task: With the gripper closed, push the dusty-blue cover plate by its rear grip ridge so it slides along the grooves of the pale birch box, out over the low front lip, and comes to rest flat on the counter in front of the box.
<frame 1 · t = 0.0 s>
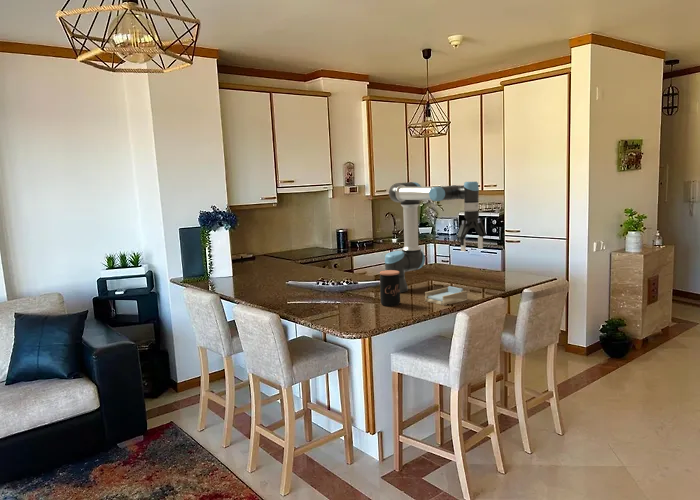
hand: (471, 249, 289), 28 cm above the counter, fingers open, 13 cm apart
cover plate: (446, 296, 295), point 2 cm above the counter, touching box
coffee jar: (390, 304, 292), on the counter
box: (446, 300, 295), on the counter
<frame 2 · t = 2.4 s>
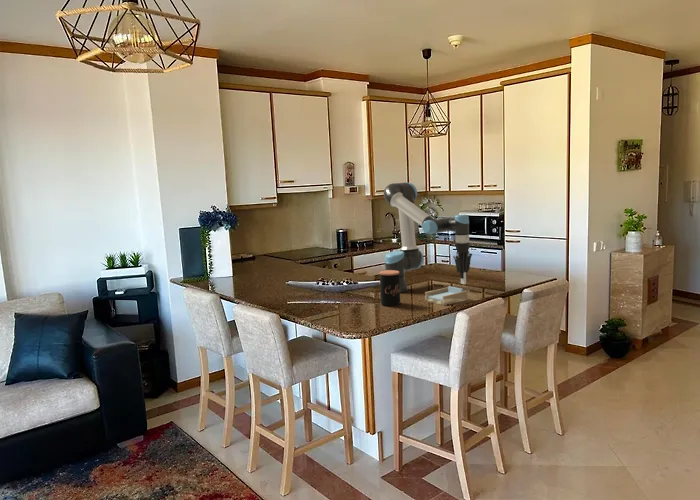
hand: (463, 283, 302), 7 cm above the counter, fingers closed
nothing on the counter moved.
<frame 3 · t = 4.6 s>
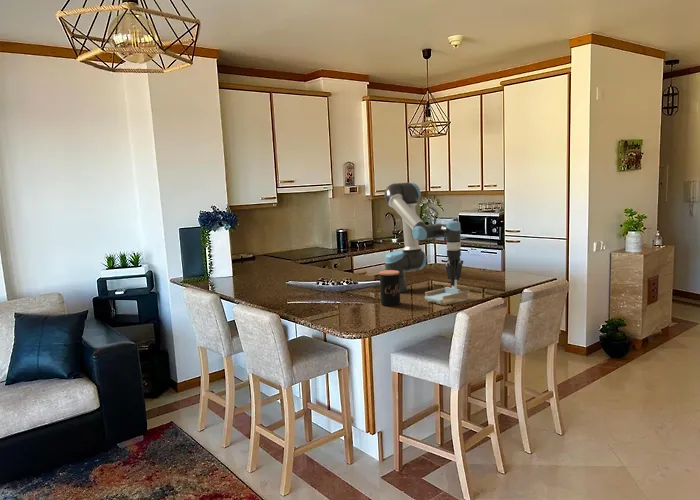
hand: (454, 291, 298), 4 cm above the counter, fingers closed
cover plate: (443, 297, 294), point 2 cm above the counter, touching gripper
everything else where it was.
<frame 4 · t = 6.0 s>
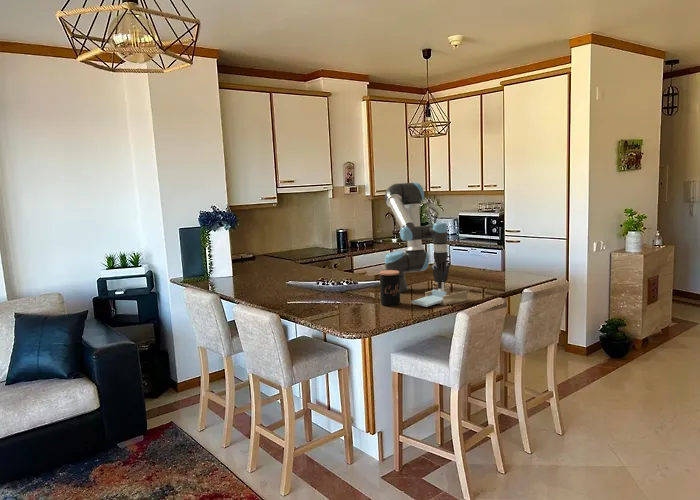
hand: (441, 294, 293), 4 cm above the counter, fingers closed
cover plate: (430, 301, 288), point 2 cm above the counter, touching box
everything else where it was.
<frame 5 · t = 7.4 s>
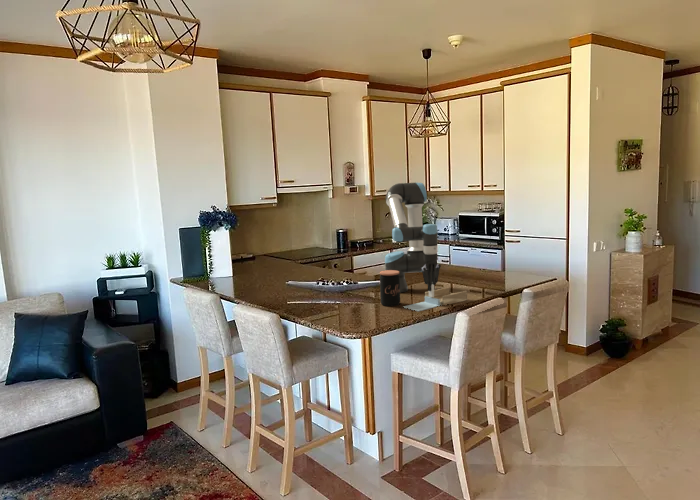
hand: (431, 296, 288), 4 cm above the counter, fingers closed
cover plate: (422, 307, 285), on the counter
everything else where it was.
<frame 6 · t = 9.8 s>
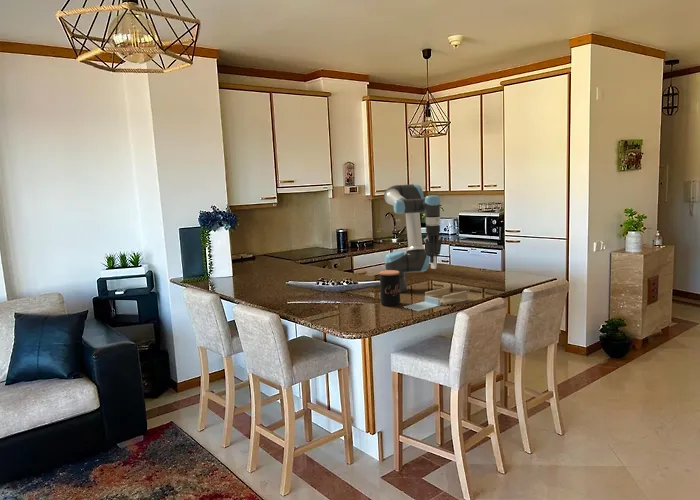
hand: (433, 268, 288), 19 cm above the counter, fingers closed
nothing on the counter moved.
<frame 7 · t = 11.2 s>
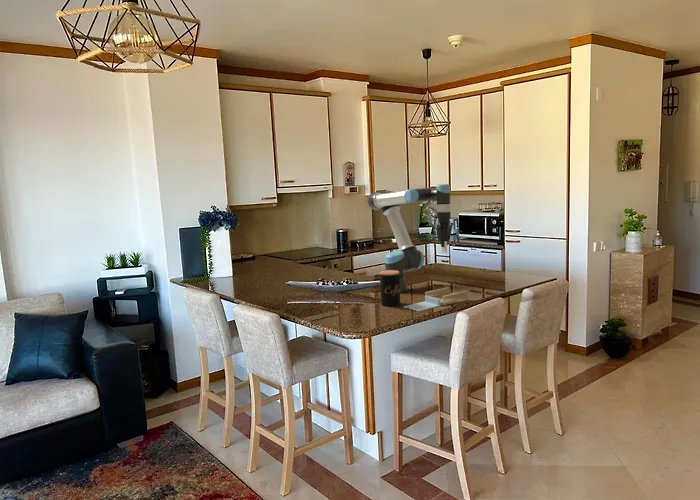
hand: (444, 252, 307), 24 cm above the counter, fingers closed
nothing on the counter moved.
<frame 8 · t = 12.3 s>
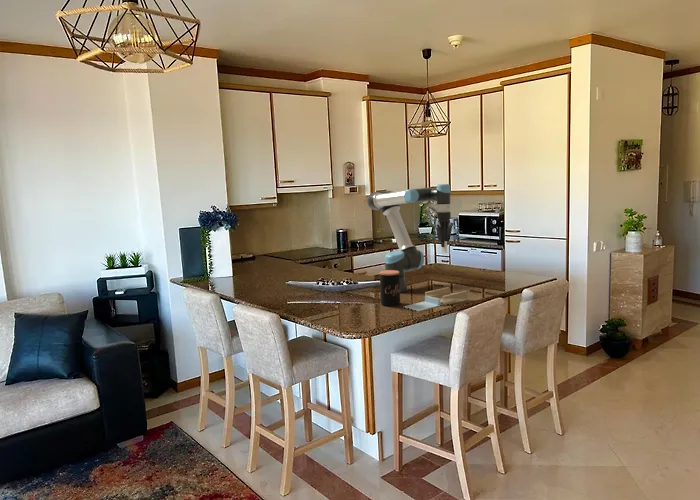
hand: (444, 252, 307), 24 cm above the counter, fingers closed
nothing on the counter moved.
at the end: cover plate inside the target area (7.9 cm from its centre), on the counter; cover plate tilted 0° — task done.
